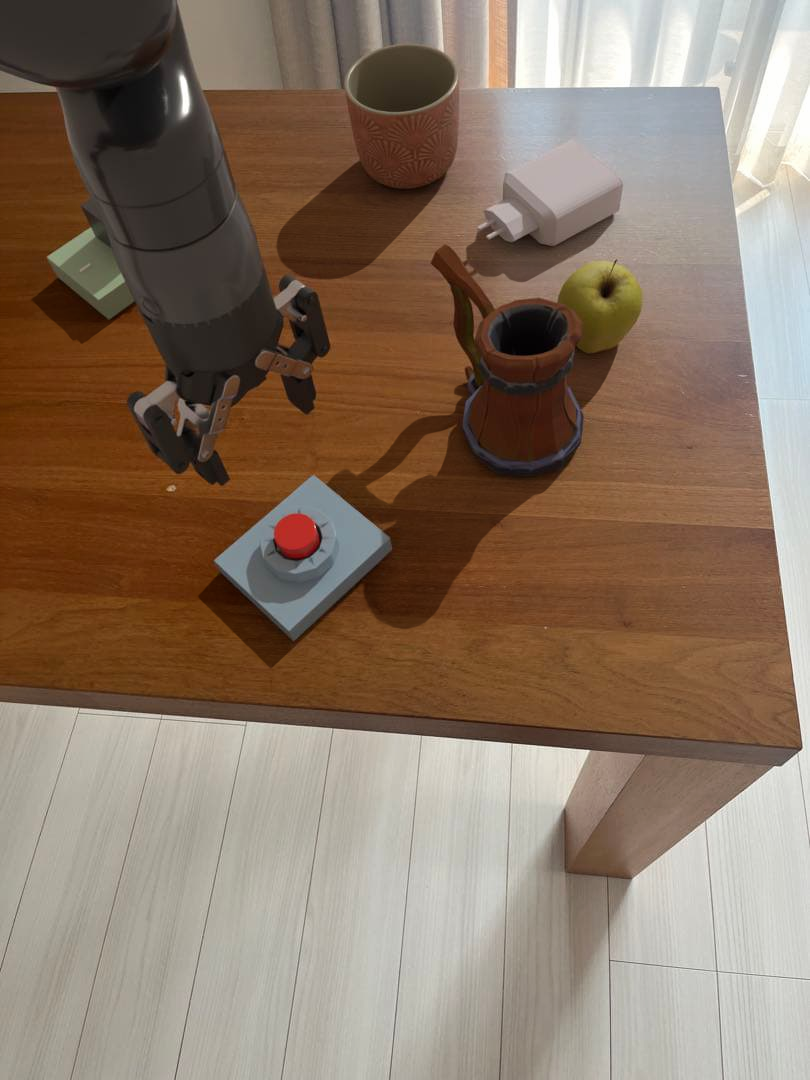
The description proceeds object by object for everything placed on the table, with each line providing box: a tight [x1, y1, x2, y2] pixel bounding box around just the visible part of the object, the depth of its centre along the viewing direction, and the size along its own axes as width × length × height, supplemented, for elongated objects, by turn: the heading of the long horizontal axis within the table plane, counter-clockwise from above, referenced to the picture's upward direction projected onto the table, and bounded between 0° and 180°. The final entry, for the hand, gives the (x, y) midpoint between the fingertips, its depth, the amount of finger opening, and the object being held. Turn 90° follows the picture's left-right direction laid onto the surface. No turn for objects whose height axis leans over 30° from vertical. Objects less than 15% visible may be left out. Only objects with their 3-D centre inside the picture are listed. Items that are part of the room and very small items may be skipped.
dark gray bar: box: [80, 198, 112, 249], centre depth 95 cm, size 6×2×4 cm, turn 46°
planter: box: [343, 43, 460, 190], centre depth 99 cm, size 12×12×11 cm
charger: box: [476, 139, 624, 247], centre depth 96 cm, size 5×9×15 cm
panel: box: [46, 226, 135, 320], centre depth 98 cm, size 13×11×3 cm
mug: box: [430, 244, 585, 478], centre depth 79 cm, size 18×12×15 cm, turn 35°
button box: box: [213, 474, 393, 642], centre depth 77 cm, size 12×10×4 cm
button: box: [274, 513, 319, 559], centre depth 75 cm, size 4×4×2 cm
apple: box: [556, 258, 644, 354], centre depth 85 cm, size 8×8×10 cm
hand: (260, 440), depth 64 cm, fingers open, 7 cm apart
